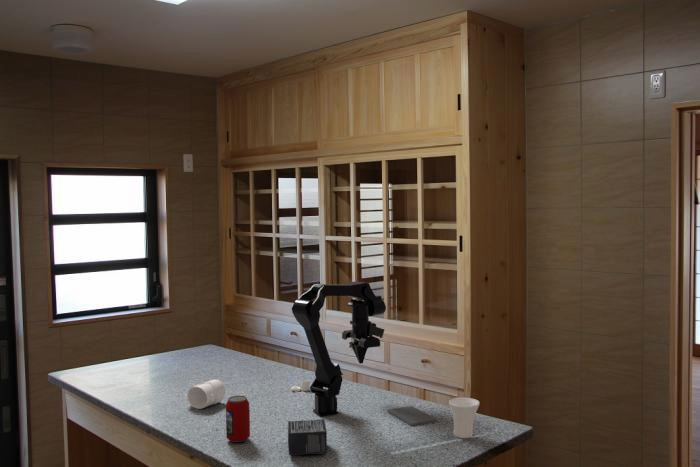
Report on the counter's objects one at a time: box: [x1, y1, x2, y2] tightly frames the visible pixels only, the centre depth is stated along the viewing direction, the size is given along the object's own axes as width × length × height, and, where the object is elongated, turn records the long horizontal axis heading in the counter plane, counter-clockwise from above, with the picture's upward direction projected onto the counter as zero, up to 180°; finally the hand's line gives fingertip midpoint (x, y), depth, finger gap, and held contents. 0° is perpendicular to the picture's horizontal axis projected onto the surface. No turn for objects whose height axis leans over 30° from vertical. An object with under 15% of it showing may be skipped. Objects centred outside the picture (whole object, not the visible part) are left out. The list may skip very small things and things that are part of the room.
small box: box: [287, 419, 328, 456], centre depth 178 cm, size 11×6×10 cm
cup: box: [448, 397, 481, 439], centre depth 187 cm, size 9×9×10 cm
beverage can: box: [225, 395, 251, 443], centre depth 187 cm, size 7×7×12 cm
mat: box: [387, 405, 437, 427], centre depth 204 cm, size 9×15×1 cm, turn 25°
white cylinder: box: [187, 379, 226, 410], centre depth 220 cm, size 12×9×8 cm
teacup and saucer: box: [291, 379, 314, 395], centre depth 235 cm, size 9×8×4 cm
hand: (361, 363), depth 222 cm, fingers closed
